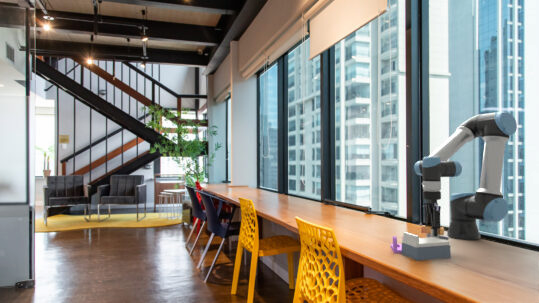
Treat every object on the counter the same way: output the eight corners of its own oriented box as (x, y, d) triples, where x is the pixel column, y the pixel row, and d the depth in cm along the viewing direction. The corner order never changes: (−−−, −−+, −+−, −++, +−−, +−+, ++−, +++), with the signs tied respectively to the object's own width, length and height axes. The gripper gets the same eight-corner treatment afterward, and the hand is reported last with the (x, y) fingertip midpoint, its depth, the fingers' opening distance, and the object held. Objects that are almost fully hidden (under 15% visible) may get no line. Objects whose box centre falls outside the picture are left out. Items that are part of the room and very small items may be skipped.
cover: (434, 240, 154) (433, 230, 154) (449, 245, 145) (449, 234, 145) (402, 242, 150) (402, 232, 150) (416, 247, 141) (416, 236, 141)
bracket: (407, 253, 152) (407, 237, 152) (393, 253, 153) (393, 237, 153) (402, 246, 164) (402, 231, 164) (389, 246, 165) (389, 231, 166)
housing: (433, 247, 163) (433, 236, 163) (462, 256, 146) (462, 244, 146) (392, 250, 157) (391, 238, 157) (417, 260, 141) (417, 248, 141)
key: (423, 245, 163) (423, 225, 163) (449, 249, 156) (448, 228, 156) (421, 246, 161) (421, 226, 161) (447, 250, 154) (447, 229, 154)
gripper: (416, 188, 169) (417, 237, 168) (430, 192, 151) (431, 246, 151) (432, 188, 168) (433, 237, 168) (448, 192, 151) (449, 246, 150)
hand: (432, 241), depth 159 cm, fingers closed on key, 5 cm apart
